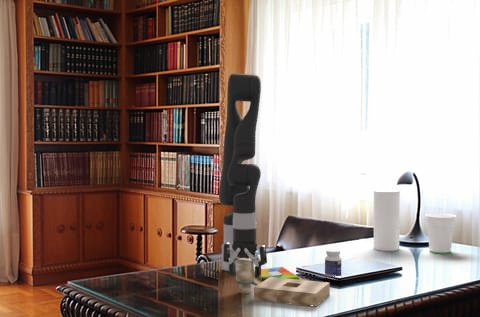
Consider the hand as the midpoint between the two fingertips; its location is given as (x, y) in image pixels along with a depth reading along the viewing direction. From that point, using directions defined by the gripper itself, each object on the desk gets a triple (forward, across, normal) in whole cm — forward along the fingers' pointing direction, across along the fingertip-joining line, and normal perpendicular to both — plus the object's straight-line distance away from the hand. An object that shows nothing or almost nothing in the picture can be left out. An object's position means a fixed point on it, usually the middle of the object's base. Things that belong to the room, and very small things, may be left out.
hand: (245, 276), depth 208 cm
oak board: (+5, +16, 0) cm, 17 cm away
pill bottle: (+5, +21, +28) cm, 35 cm away
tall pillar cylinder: (+5, +27, +88) cm, 92 cm away
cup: (+5, +49, +89) cm, 102 cm away
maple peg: (+5, 0, 0) cm, 5 cm away
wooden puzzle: (+6, +3, +19) cm, 20 cm away
